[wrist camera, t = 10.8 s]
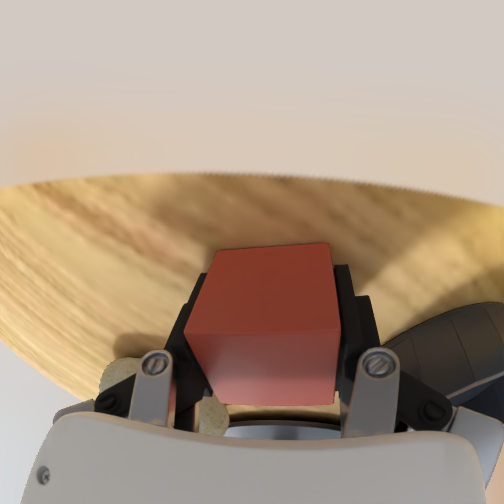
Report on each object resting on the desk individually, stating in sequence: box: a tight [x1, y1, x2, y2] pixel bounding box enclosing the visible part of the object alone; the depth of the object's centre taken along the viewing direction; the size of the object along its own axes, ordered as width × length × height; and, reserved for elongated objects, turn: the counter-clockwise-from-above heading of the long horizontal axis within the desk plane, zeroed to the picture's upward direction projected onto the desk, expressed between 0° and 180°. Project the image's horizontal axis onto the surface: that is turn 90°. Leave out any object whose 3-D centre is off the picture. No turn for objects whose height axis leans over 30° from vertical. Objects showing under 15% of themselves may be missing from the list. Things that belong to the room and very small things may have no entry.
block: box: [184, 243, 341, 406], centre depth 10 cm, size 4×4×4 cm
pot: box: [340, 302, 504, 437], centre depth 13 cm, size 15×15×4 cm
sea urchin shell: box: [99, 357, 230, 436], centre depth 17 cm, size 9×8×8 cm
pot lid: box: [223, 420, 341, 440], centre depth 20 cm, size 15×15×7 cm
